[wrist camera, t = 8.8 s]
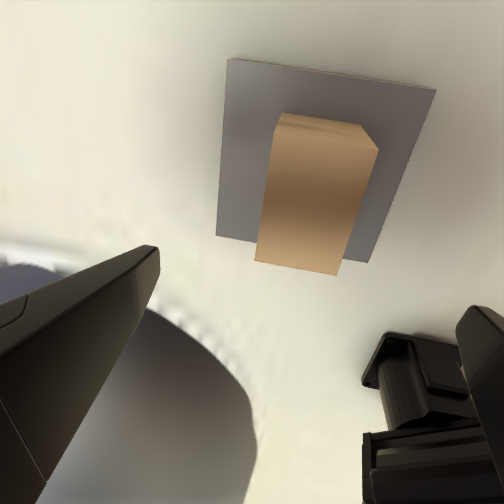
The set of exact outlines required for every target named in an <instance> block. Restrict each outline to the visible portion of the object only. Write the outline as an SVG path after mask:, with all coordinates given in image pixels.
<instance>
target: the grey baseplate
mask: <svg viewBox="0 0 504 504" xmlns="http://www.w3.org/2000/svg"><path fill="white" fill-rule="evenodd" d="M435 93H436V90H435V89H431V88H428V87H423V86H416V85H409V84H402V83H396V82H389V81H382V80H375V79H369V78H362V77H355V76H349V75H342V74H335V73H328V72H322V71H315V70H308V69H301V68H295V67H288V66H281V65H275V64H268V63H261V62H254V61H248V60H241V59H234V58H232V59H228V61H227V76H226V90H225V105H224V120H223V135H222V150H221V164H220V179H219V194H218V209H217V224H216V236H221V237H227V238H232V239H238V240H243V241H249V242H254V243H257V239H258V233H259V226H260V220H261V213H262V206H263V200H264V193H265V187H266V180H267V174H268V167H269V161H270V154H271V147H272V141H273V134H274V131H275V129H276V126H277V124H278V121H279V119H280V116H281V114H282V112H283V113H290V114H296V115H302V116H309V117H315V118H322V119H328V120H334V121H341V122H347V123H354V124H360V125H361V127H362V128H363V129H364V131H365V132H366V133H367V135H368V136H369V137H370V139H371V140H372V141H373V142H374V144H375V145H376V146H377V148H378V149H379V151H378V154H377V157H376V160H375V163H374V166H373V169H372V172H371V175H370V178H369V181H368V184H367V187H366V190H365V193H364V196H363V199H362V201H361V204H360V207H359V210H358V213H357V216H356V219H355V222H354V225H353V228H352V231H351V234H350V237H349V240H348V243H347V246H346V249H345V252H344V255H343V259H348V260H354V261H359V262H365V263H368V261H369V259H370V256H371V254H372V251H373V249H374V246H375V244H376V241H377V239H378V236H379V234H380V231H381V229H382V226H383V224H384V221H385V218H386V216H387V213H388V211H389V208H390V206H391V203H392V201H393V198H394V196H395V193H396V191H397V188H398V186H399V183H400V181H401V178H402V176H403V173H404V171H405V168H406V166H407V163H408V161H409V158H410V156H411V153H412V150H413V148H414V145H415V143H416V140H417V138H418V135H419V133H420V130H421V128H422V125H423V123H424V120H425V118H426V115H427V113H428V110H429V108H430V105H431V103H432V100H433V98H434V95H435Z"/></svg>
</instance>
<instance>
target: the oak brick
mask: <svg viewBox="0 0 504 504" xmlns="http://www.w3.org/2000/svg"><path fill="white" fill-rule="evenodd" d="M378 151H379V149H378V148H377V146H376V145H375V144H374V142H373V141H372V140H371V139H370V137H369V136H368V135H367V133H366V132H365V131H364V129H363V128H362V127H361V125H360V124H354V123H347V122H341V121H334V120H328V119H322V118H315V117H309V116H302V115H296V114H290V113H283V112H282V114H281V116H280V119H279V121H278V124H277V126H276V129H275V131H274V134H273V141H272V147H271V154H270V161H269V167H268V174H267V180H266V187H265V193H264V200H263V206H262V213H261V220H260V226H259V233H258V239H257V246H256V252H255V259H254V261H258V262H263V263H269V264H274V265H279V266H285V267H290V268H296V269H301V270H307V271H312V272H317V273H323V274H328V275H334V276H336V275H337V272H338V269H339V267H340V264H341V261H342V258H343V255H344V252H345V249H346V246H347V243H348V240H349V237H350V234H351V231H352V228H353V225H354V222H355V219H356V216H357V213H358V210H359V207H360V204H361V201H362V199H363V196H364V193H365V190H366V187H367V184H368V181H369V178H370V175H371V172H372V169H373V166H374V163H375V160H376V157H377V154H378Z"/></svg>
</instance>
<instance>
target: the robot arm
mask: <svg viewBox="0 0 504 504" xmlns="http://www.w3.org/2000/svg"><path fill="white" fill-rule="evenodd" d="M159 275H160V252H159V249H158V247H155V246H150V245H142V246H140V247H137V248H135V249H133V250H130V251H128V252H126V253H123V254H121V255H118V256H116V257H114V258H111V259H109V260H106V261H104V262H102V263H99V264H97V265H94V266H92V267H90V268H87V269H85V270H82V271H80V272H78V273H75V274H73V275H70V276H68V277H66V278H63V279H61V280H58V281H56V282H54V283H51V284H49V285H46V286H44V287H42V288H39V289H37V290H35V291H32V292H30V293H29V295H28V294H25V295H22V296H20V297H18V298H15V299H13V300H11V301H8V302H5V303H3V304H0V504H35V503H36V501H37V500H38V497H39V496H40V494H41V493H42V491H43V489H44V487H45V486H46V483H47V482H46V481H48V480H49V478H50V477H51V475H52V473H53V471H54V469H55V468H56V466H57V464H58V463H59V461H60V459H61V457H62V456H63V454H64V452H65V450H66V449H67V447H68V445H69V444H70V442H71V440H72V438H73V436H74V434H75V433H76V431H77V429H78V428H79V426H80V424H81V423H82V421H83V419H84V417H85V416H86V414H87V412H88V410H89V408H90V407H91V405H92V404H93V402H94V400H95V398H96V397H97V395H98V393H99V391H100V390H101V388H102V386H103V384H104V383H105V381H106V379H107V377H108V376H109V374H110V372H111V371H112V369H113V367H114V365H115V364H116V362H117V360H118V358H119V357H120V355H121V353H122V351H123V350H124V348H125V346H126V345H127V343H128V341H129V339H130V338H131V336H132V334H133V332H134V331H135V329H136V327H137V325H138V324H139V322H140V320H141V318H142V316H143V313H144V311H145V309H146V306H147V304H148V302H149V299H150V297H151V295H152V292H153V290H154V288H155V285H156V283H157V281H158V278H159ZM455 333H456V338H457V343H458V346H455V345H450V344H445V343H439V342H434V341H429V340H424V339H419V338H413V337H408V336H403V335H398V334H393V333H387V334H385V335H384V336H383V337H382V339H381V341H380V343H379V345H378V347H377V349H376V351H375V353H374V355H373V357H372V359H371V361H370V363H369V365H368V367H367V369H366V371H365V373H364V375H363V377H362V379H361V381H362V385H363V386H364V387H368V388H373V389H378V390H380V395H381V399H382V404H383V408H384V413H385V418H386V422H387V427H388V431H383V432H377V433H371V432H368V433H363V445H362V495H363V501H362V504H504V317H502V316H501V315H499V314H498V313H496V312H495V311H493V310H492V309H490V308H488V307H483V306H477V305H472V306H470V307H469V308H468V309H467V311H466V312H465V314H464V315H463V316H462V318H461V319H460V321H459V322H458V324H457V326H456V330H455ZM389 339H391V340H389ZM462 365H463V369H464V373H465V377H466V379H465V377H464V375H463V373H462V371H461V369H460V367H461V366H462Z"/></svg>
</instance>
